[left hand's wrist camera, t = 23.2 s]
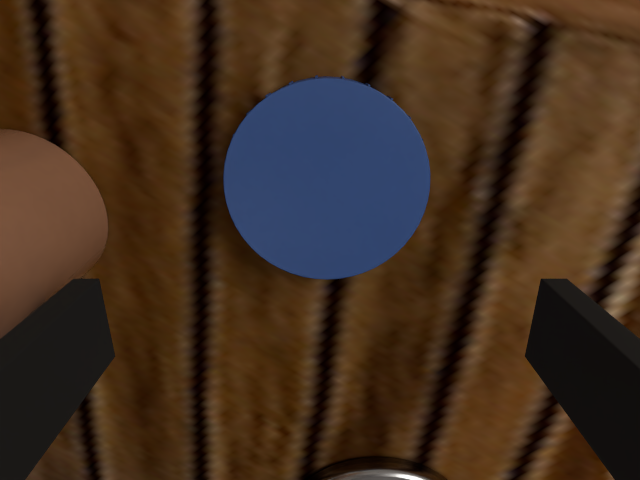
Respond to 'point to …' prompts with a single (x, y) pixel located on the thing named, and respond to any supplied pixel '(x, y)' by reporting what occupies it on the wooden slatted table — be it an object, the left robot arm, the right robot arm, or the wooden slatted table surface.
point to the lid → (326, 178)
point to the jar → (43, 224)
